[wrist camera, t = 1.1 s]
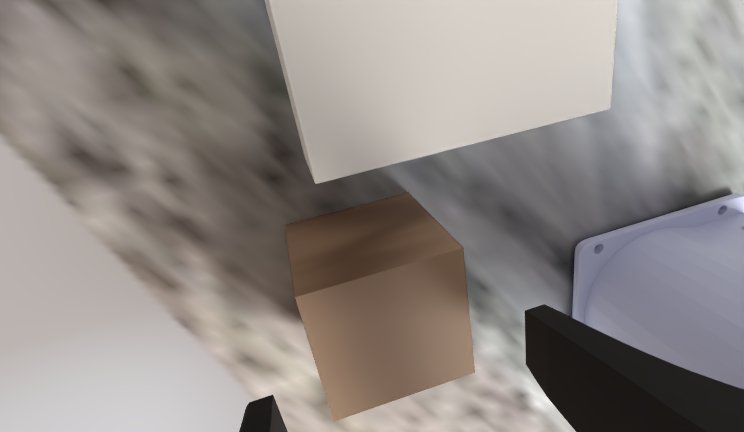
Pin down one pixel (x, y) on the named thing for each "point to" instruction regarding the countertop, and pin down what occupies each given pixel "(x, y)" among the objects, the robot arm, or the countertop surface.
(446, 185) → the countertop surface
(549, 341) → the robot arm
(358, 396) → the walnut cube
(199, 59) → the countertop surface
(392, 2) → the cream plinth
